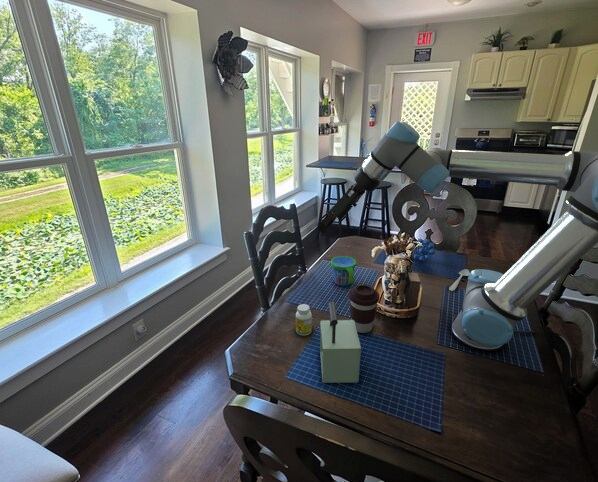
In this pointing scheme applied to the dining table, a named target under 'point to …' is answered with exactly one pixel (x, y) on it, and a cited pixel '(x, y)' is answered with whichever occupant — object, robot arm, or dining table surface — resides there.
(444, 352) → the dining table surface
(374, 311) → the coffee cup
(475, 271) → the robot arm
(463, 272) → the spoon
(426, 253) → the grapes
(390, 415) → the dining table surface
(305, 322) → the supplement bottle
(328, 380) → the pale green square box
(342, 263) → the snack cup
